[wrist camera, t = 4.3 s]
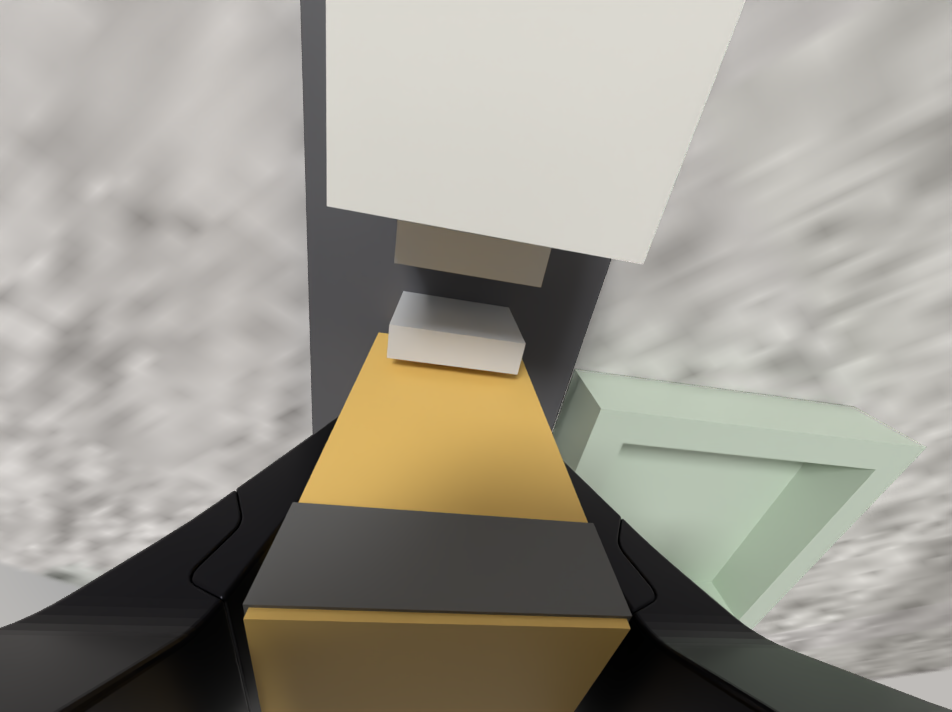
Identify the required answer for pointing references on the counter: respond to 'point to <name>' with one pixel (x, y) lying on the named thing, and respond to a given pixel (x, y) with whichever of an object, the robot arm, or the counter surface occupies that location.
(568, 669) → the block
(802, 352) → the counter surface
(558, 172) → the block
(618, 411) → the tray
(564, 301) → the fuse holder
